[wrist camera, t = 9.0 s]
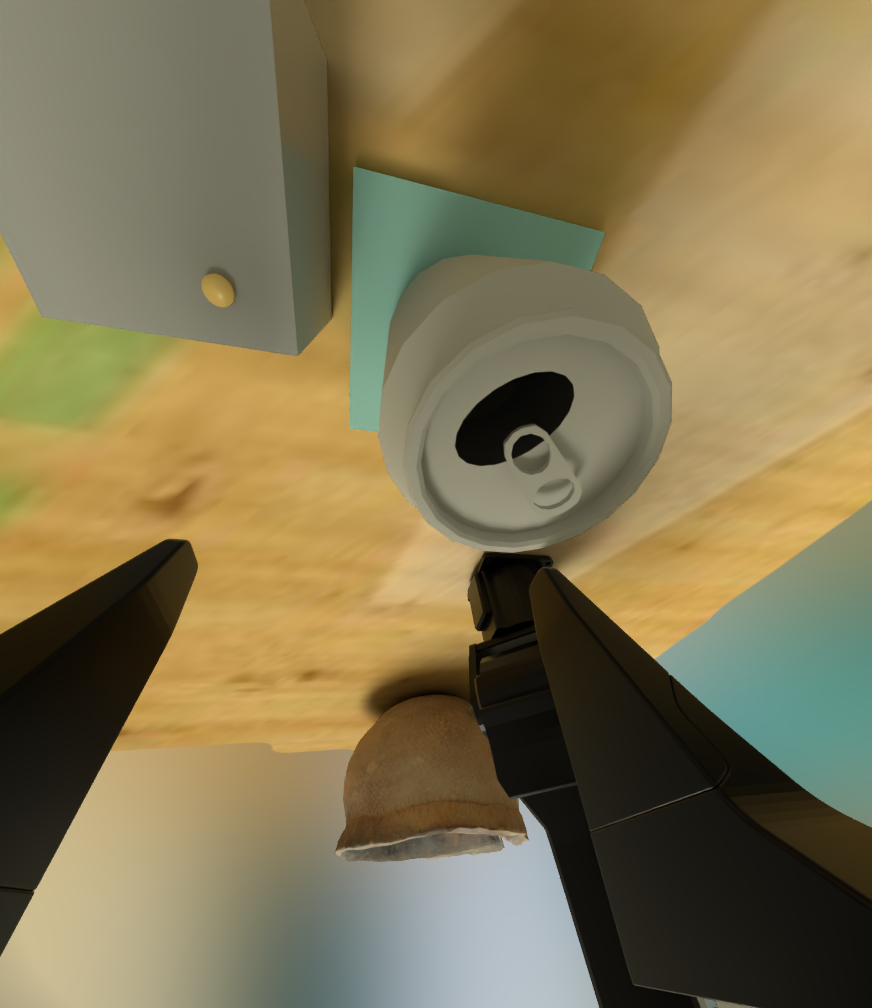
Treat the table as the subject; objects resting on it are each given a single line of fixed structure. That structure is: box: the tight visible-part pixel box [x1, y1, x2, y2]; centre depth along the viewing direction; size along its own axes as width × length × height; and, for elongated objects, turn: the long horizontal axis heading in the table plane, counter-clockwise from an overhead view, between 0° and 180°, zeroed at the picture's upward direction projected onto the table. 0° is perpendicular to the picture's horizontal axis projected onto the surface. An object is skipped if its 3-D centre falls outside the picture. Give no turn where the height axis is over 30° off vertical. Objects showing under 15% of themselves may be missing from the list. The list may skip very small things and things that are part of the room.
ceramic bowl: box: [335, 695, 529, 862], centre depth 42 cm, size 22×22×15 cm
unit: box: [0, 0, 332, 356], centre depth 10 cm, size 7×8×7 cm
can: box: [378, 254, 672, 553], centre depth 12 cm, size 8×8×12 cm
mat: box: [350, 166, 606, 432], centre depth 17 cm, size 11×11×1 cm
